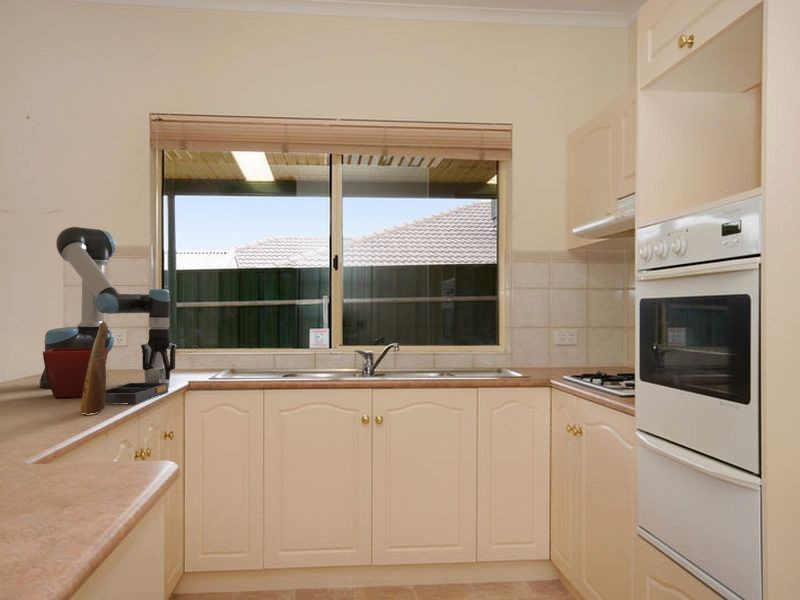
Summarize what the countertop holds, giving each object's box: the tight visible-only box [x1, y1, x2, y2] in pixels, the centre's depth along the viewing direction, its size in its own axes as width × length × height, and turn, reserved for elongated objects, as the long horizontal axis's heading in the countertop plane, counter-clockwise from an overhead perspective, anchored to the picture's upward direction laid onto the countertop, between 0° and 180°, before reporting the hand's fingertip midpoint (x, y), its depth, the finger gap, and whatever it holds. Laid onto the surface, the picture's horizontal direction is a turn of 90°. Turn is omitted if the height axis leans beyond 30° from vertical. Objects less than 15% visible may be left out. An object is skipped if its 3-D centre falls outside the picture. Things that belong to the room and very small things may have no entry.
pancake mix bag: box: [80, 320, 108, 414], centre depth 191 cm, size 7×19×28 cm, turn 16°
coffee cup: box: [141, 347, 164, 383], centre depth 260 cm, size 10×10×15 cm
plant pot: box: [42, 347, 109, 398], centre depth 223 cm, size 19×19×17 cm
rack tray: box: [105, 382, 169, 405], centre depth 218 cm, size 15×28×4 cm, turn 179°
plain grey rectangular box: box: [148, 366, 170, 388], centre depth 241 cm, size 4×10×8 cm, turn 179°
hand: (158, 387), depth 241 cm, fingers closed on plain grey rectangular box, 4 cm apart
